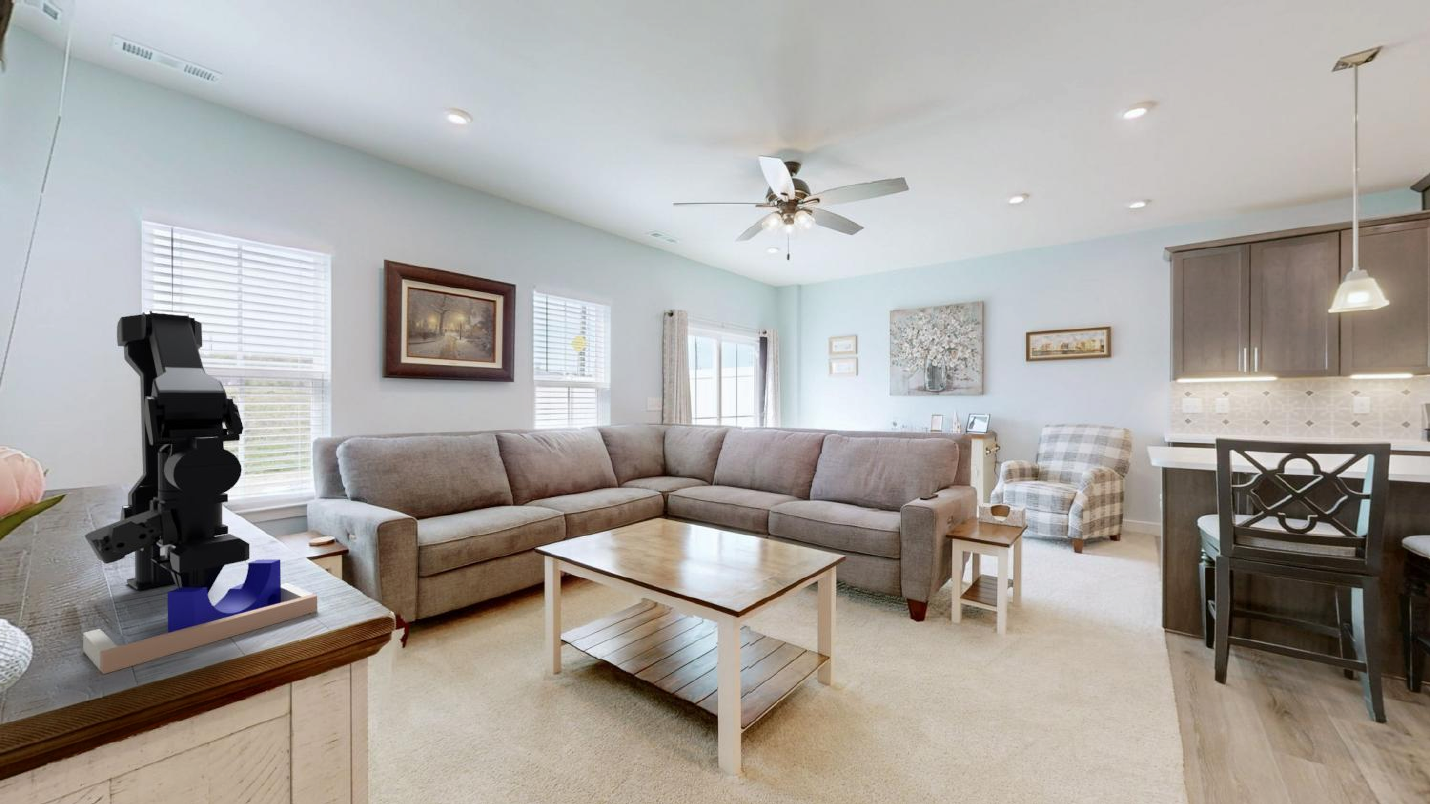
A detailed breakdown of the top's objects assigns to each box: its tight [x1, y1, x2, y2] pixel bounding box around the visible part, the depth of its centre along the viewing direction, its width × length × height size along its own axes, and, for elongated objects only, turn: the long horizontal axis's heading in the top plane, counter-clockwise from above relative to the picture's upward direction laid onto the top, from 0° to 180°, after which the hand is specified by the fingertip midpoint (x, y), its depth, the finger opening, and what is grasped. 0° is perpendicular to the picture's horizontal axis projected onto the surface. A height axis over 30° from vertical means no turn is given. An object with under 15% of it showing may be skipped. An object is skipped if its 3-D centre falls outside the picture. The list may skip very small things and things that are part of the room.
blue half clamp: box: [166, 558, 282, 633], centre depth 66 cm, size 12×4×6 cm, turn 1°
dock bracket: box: [82, 582, 318, 675], centre depth 64 cm, size 9×18×2 cm, turn 148°
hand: (192, 611), depth 67 cm, fingers closed
